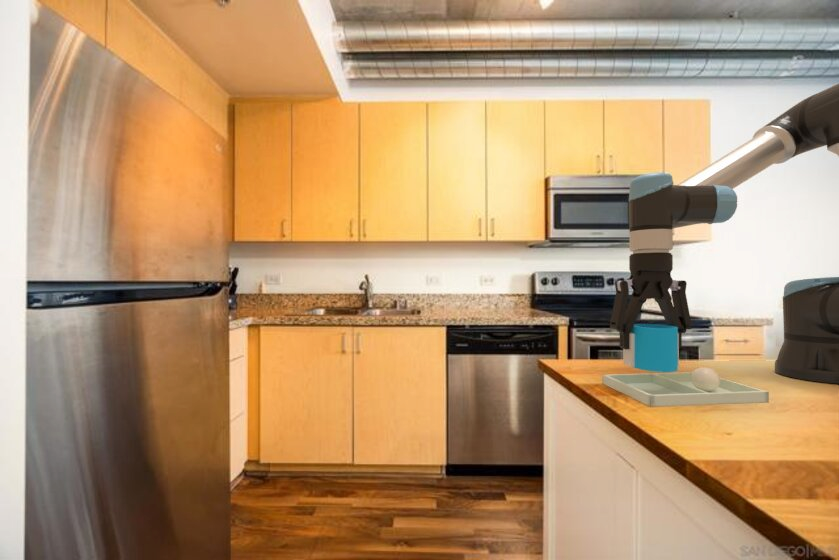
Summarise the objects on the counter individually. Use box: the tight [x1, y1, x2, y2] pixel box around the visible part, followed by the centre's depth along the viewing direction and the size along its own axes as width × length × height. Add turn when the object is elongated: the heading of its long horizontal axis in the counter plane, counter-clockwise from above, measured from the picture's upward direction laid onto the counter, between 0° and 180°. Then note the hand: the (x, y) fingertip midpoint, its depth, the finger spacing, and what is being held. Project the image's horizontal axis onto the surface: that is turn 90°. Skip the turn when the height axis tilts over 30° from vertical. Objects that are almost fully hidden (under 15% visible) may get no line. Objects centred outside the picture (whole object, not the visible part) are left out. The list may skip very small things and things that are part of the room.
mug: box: [630, 323, 679, 373], centre depth 80 cm, size 12×8×8 cm
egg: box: [691, 366, 720, 391], centre depth 80 cm, size 5×5×5 cm
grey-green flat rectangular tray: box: [601, 371, 770, 408], centre depth 80 cm, size 23×16×2 cm
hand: (650, 364), depth 79 cm, fingers closed on mug, 8 cm apart
